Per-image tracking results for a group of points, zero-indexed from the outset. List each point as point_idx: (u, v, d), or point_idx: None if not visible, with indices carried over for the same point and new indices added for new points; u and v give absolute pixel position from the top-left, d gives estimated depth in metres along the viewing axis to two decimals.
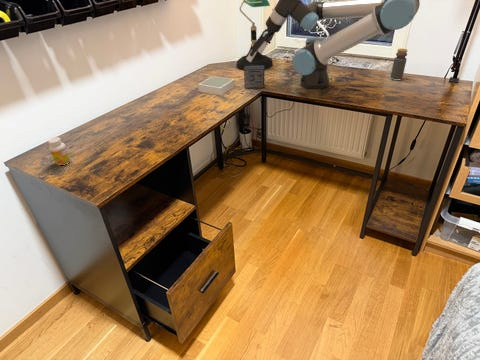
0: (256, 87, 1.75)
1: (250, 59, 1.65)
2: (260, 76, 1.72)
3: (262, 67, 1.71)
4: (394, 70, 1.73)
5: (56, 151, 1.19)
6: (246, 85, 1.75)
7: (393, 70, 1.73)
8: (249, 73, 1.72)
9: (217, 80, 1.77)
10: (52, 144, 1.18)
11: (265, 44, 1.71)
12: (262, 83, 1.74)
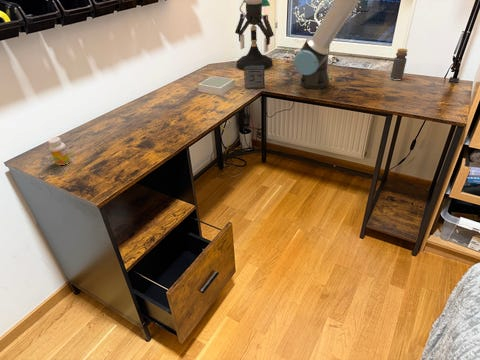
0: (256, 87, 1.75)
1: (267, 48, 1.64)
2: (260, 76, 1.72)
3: (262, 67, 1.71)
4: (394, 70, 1.73)
5: (56, 151, 1.19)
6: (246, 85, 1.75)
7: (393, 70, 1.73)
8: (249, 73, 1.72)
9: (217, 80, 1.77)
10: (52, 144, 1.18)
11: (243, 36, 1.67)
12: (262, 83, 1.74)
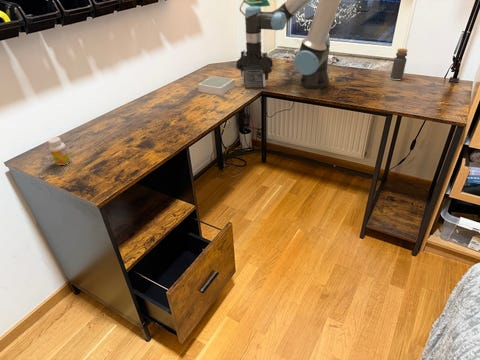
0: (256, 87, 1.75)
1: (266, 82, 1.75)
2: (260, 76, 1.72)
3: None
4: (394, 70, 1.73)
5: (56, 151, 1.19)
6: (246, 85, 1.75)
7: (393, 70, 1.73)
8: (249, 73, 1.72)
9: (217, 80, 1.77)
10: (52, 144, 1.18)
11: None
12: (262, 83, 1.74)
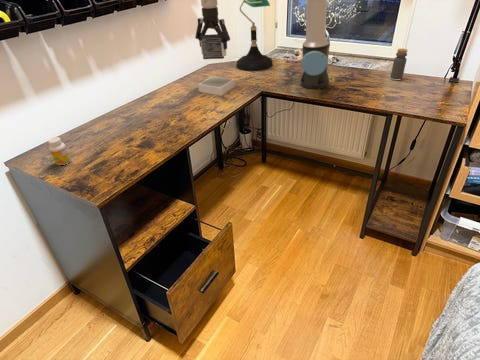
0: (215, 57, 1.65)
1: (225, 52, 1.65)
2: (218, 45, 1.62)
3: None
4: (394, 70, 1.73)
5: (56, 151, 1.19)
6: (204, 55, 1.65)
7: (393, 70, 1.73)
8: (206, 42, 1.62)
9: (217, 80, 1.77)
10: (52, 144, 1.18)
11: None
12: (220, 53, 1.64)
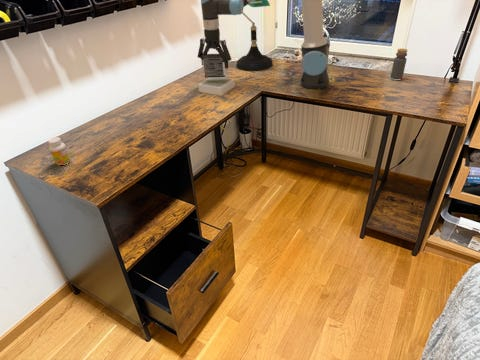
0: (216, 76, 1.71)
1: (226, 71, 1.70)
2: (219, 64, 1.67)
3: None
4: (394, 70, 1.73)
5: (56, 151, 1.19)
6: (206, 74, 1.71)
7: (393, 70, 1.73)
8: (208, 61, 1.67)
9: (217, 80, 1.77)
10: (52, 144, 1.18)
11: None
12: (222, 72, 1.69)
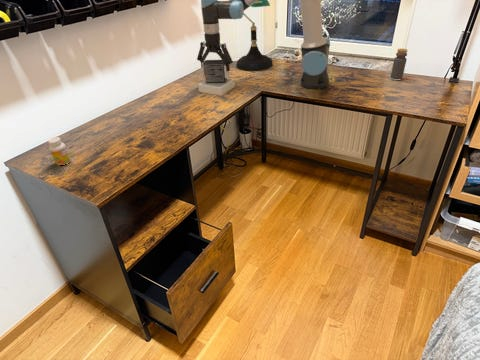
0: (217, 81, 1.73)
1: (228, 74, 1.71)
2: (220, 70, 1.69)
3: (222, 61, 1.68)
4: (394, 70, 1.73)
5: (56, 151, 1.19)
6: (207, 79, 1.73)
7: (393, 70, 1.73)
8: (209, 67, 1.69)
9: None
10: (52, 144, 1.18)
11: None
12: (222, 78, 1.71)
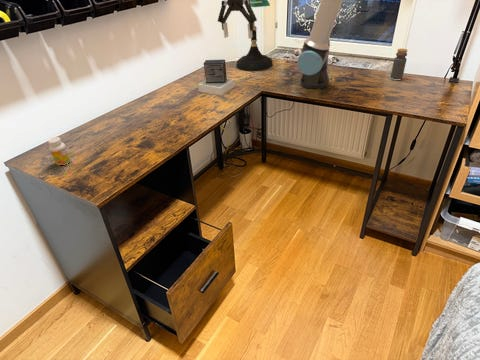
0: (217, 81, 1.73)
1: (251, 34, 1.61)
2: (220, 70, 1.69)
3: (222, 61, 1.68)
4: (394, 70, 1.73)
5: (56, 151, 1.19)
6: (207, 79, 1.73)
7: (393, 70, 1.73)
8: (209, 67, 1.69)
9: None
10: (52, 144, 1.18)
11: (226, 24, 1.64)
12: (222, 78, 1.71)
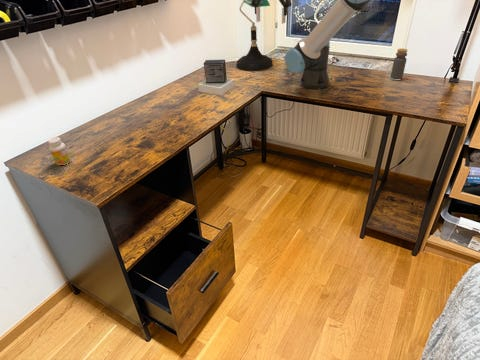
0: (217, 81, 1.73)
1: (284, 19, 1.59)
2: (220, 70, 1.69)
3: (222, 61, 1.68)
4: (394, 70, 1.73)
5: (56, 151, 1.19)
6: (207, 79, 1.73)
7: (393, 70, 1.73)
8: (209, 67, 1.69)
9: None
10: (52, 144, 1.18)
11: (259, 9, 1.63)
12: (222, 78, 1.71)
